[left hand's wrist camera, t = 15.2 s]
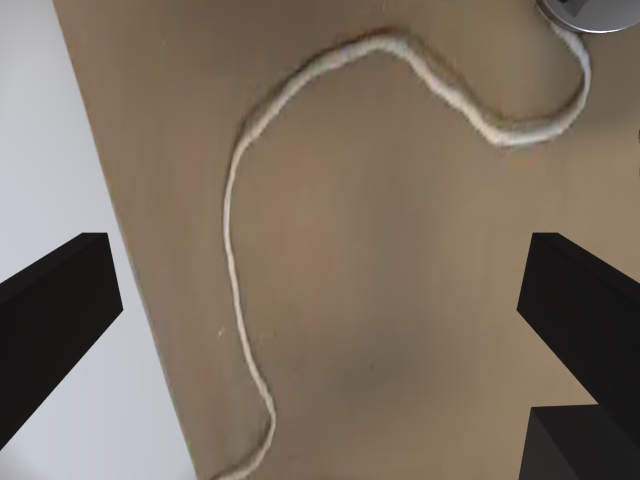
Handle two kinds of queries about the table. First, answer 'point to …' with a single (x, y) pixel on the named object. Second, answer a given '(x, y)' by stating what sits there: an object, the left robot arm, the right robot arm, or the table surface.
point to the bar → (577, 446)
